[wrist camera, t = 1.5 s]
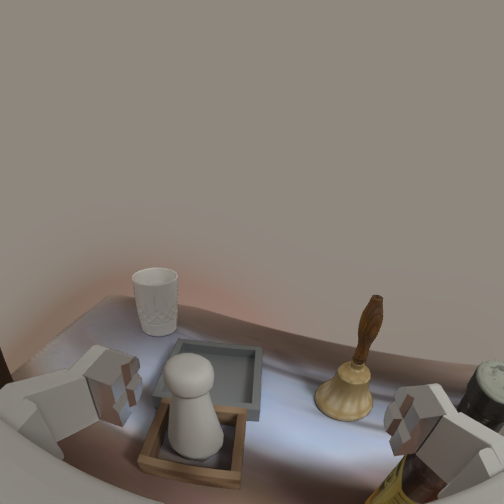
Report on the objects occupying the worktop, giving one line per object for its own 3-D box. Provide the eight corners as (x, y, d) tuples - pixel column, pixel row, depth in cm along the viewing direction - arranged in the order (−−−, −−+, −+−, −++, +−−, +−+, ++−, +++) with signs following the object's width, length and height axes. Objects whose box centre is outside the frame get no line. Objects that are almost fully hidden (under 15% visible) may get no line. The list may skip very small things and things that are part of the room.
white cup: (144, 314, 52) (139, 266, 49) (183, 317, 52) (181, 268, 49) (133, 336, 44) (125, 283, 41) (177, 340, 45) (173, 286, 42)
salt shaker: (166, 433, 26) (147, 347, 22) (213, 423, 29) (209, 338, 25) (179, 472, 21) (158, 393, 17) (232, 460, 24) (233, 379, 20)
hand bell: (382, 396, 33) (419, 296, 28) (352, 431, 27) (396, 323, 23) (336, 373, 39) (360, 276, 34) (302, 400, 33) (324, 293, 29)
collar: (246, 420, 30) (247, 408, 29) (239, 489, 20) (240, 480, 19) (165, 409, 30) (162, 396, 29) (142, 472, 20) (136, 461, 20)
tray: (261, 358, 42) (262, 346, 41) (258, 421, 30) (260, 409, 29) (179, 349, 42) (178, 338, 42) (154, 407, 30) (151, 395, 29)
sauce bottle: (394, 485, 19) (494, 335, 13) (420, 522, 13) (554, 379, 7) (341, 510, 17) (442, 364, 11) (366, 553, 11) (519, 432, 5)
